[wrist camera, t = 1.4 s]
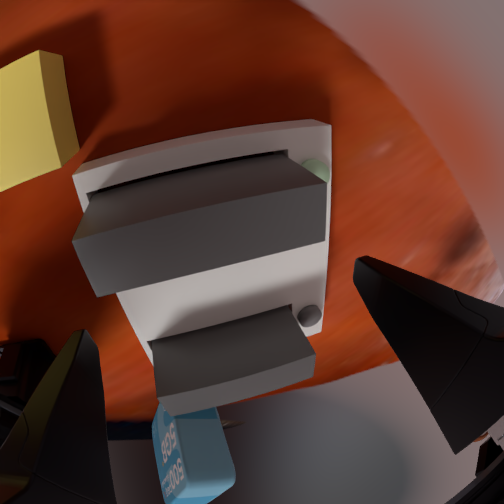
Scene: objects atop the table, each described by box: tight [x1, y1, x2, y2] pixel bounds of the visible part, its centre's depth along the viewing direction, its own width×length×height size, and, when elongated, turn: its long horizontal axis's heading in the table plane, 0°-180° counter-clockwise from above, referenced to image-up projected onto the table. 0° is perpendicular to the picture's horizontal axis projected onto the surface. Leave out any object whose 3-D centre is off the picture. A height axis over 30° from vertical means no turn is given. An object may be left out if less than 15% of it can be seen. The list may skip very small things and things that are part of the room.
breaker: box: [151, 305, 316, 416], centre depth 21 cm, size 3×11×5 cm, turn 97°
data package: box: [152, 403, 236, 504], centre depth 26 cm, size 12×4×12 cm, turn 158°
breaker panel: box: [72, 119, 331, 364], centre depth 21 cm, size 18×15×3 cm
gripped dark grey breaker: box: [72, 153, 327, 297], centre depth 15 cm, size 3×11×5 cm, turn 97°
